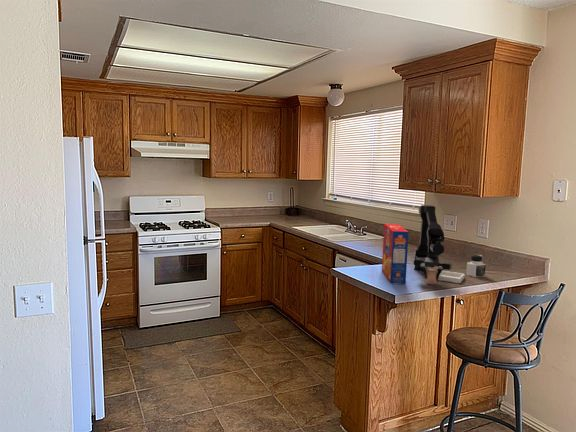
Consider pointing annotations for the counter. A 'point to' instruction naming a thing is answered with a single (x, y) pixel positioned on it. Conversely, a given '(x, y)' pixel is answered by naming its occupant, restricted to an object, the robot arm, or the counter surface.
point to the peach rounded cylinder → (431, 276)
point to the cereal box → (395, 253)
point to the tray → (451, 277)
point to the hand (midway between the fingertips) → (431, 279)
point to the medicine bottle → (476, 266)
